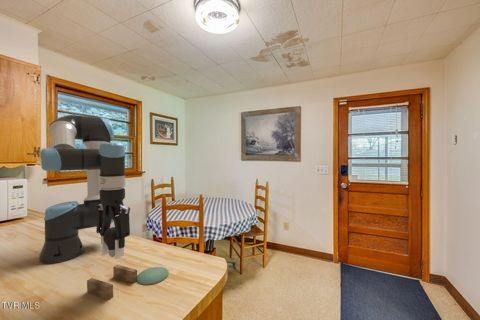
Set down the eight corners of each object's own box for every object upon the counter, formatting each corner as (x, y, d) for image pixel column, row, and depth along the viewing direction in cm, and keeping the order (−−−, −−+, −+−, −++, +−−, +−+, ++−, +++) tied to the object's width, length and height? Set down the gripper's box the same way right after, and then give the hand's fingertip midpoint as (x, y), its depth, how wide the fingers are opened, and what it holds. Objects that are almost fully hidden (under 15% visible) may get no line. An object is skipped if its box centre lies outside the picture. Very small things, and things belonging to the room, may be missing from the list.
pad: (129, 280, 77) (129, 279, 77) (152, 266, 87) (152, 264, 87) (153, 287, 73) (153, 286, 73) (174, 271, 83) (174, 270, 83)
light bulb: (108, 252, 76) (108, 224, 76) (125, 252, 77) (124, 224, 77) (99, 260, 71) (99, 230, 71) (117, 260, 71) (117, 230, 71)
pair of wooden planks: (87, 292, 71) (87, 280, 71) (117, 275, 81) (117, 264, 81) (108, 299, 67) (108, 287, 67) (137, 280, 77) (137, 269, 77)
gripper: (82, 188, 73) (83, 255, 74) (123, 191, 66) (123, 265, 67) (103, 185, 80) (104, 246, 81) (142, 188, 73) (142, 255, 74)
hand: (112, 255), depth 74 cm, fingers closed on light bulb, 6 cm apart
